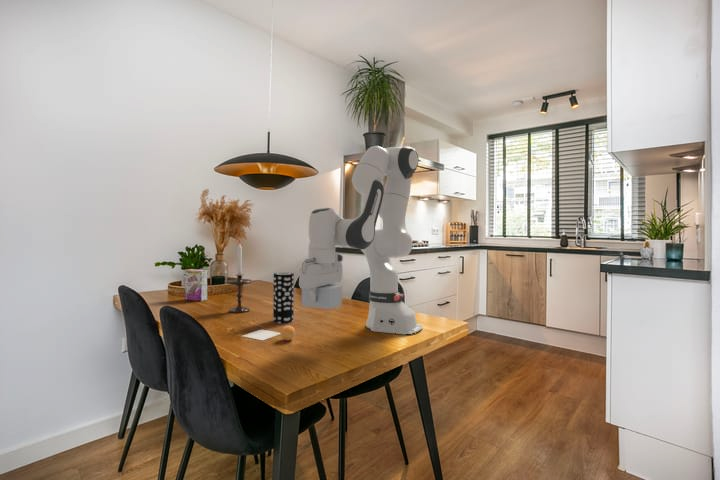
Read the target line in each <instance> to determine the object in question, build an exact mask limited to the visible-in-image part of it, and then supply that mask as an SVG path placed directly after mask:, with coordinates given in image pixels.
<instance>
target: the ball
mask: <svg viewBox="0 0 720 480" xmlns="http://www.w3.org/2000/svg"><path fill="white" fill-rule="evenodd" d="M280 333H281V334H280V336H281V338H282V340H284V341H291V340H292V339H293V338H295V336H296V330H295V328H294V327H293V326H291V325H286V326H285V325H284V326H283V327H282V328H281V330H280Z"/></svg>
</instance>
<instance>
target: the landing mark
mask: <svg viewBox="0 0 720 480" xmlns="http://www.w3.org/2000/svg"><path fill="white" fill-rule="evenodd" d="M279 335H280V336H281V332H278V331H273V330H272V331H271V330H268V329H267V330H266V329H259V330H255V331H252V332H249V333H247V334H244V335H241V337H242V338H247V339H253V340H257V341H262V342H263V341H265V340H268V339H271V338H274V337H277V336H279Z"/></svg>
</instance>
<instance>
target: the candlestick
mask: <svg viewBox="0 0 720 480" xmlns="http://www.w3.org/2000/svg"><path fill="white" fill-rule="evenodd" d="M237 239H238V246H237V274H235V276H236V278H235V279H227V282H226V284H228V285H235V286H236V287H237V294H236V295H235V296H236V297H237V299H236V302H237V306H236V307H231V308H230V309H229V310H228V311H229V313H230V312H231V314H244V312H245V313H249V312H250V308H249V307H245V306H242V302H243V299H242V298H243V293H242V287H243V286H244V285H249V284H251V283H252V282H253V281H252V279H249V278H248V279H246V278H243V273H242V271H243V270H242V269H243V268H242V267H243V266H242V265H243V261H242V260H243V259H242V258H243V255H242V254H243V251H242V250H243V247H242V245H241V239H240V237H238V238H237Z"/></svg>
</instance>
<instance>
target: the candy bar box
mask: <svg viewBox="0 0 720 480" xmlns="http://www.w3.org/2000/svg"><path fill="white" fill-rule="evenodd" d="M184 300H185V301H191V300H195V301H194V302H204V301H203V300H205V301H208V270H206V269H193V268H191V269H185V270H184Z"/></svg>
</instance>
